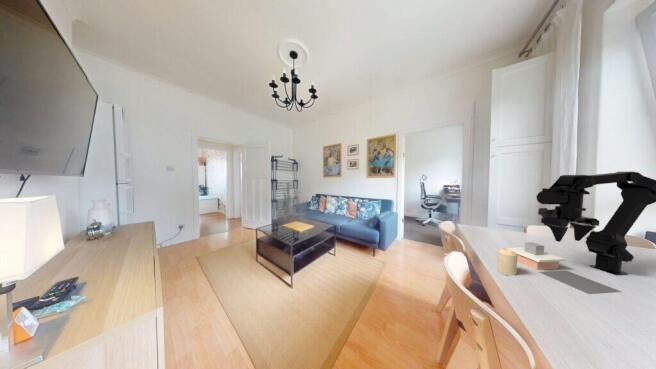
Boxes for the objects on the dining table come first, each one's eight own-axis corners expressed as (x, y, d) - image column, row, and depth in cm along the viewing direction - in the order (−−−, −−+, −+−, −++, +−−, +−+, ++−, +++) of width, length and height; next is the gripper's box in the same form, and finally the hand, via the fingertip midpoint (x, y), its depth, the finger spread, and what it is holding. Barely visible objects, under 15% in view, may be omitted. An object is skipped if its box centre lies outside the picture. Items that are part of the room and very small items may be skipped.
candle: (520, 277, 68) (521, 252, 67) (503, 276, 69) (505, 251, 68) (508, 270, 73) (510, 246, 73) (493, 268, 74) (494, 245, 74)
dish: (529, 258, 83) (529, 249, 83) (558, 270, 73) (559, 259, 73) (510, 259, 82) (510, 250, 82) (536, 271, 72) (537, 260, 72)
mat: (566, 271, 72) (566, 270, 72) (622, 293, 59) (622, 291, 59) (538, 273, 71) (538, 272, 71) (588, 295, 58) (588, 294, 58)
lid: (529, 248, 84) (529, 238, 84) (564, 260, 72) (565, 249, 72) (506, 249, 83) (507, 239, 83) (538, 262, 71) (539, 250, 71)
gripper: (562, 201, 82) (560, 233, 83) (527, 202, 80) (524, 235, 81) (602, 205, 70) (598, 243, 71) (561, 206, 69) (558, 244, 70)
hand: (567, 241), depth 74 cm, fingers open, 9 cm apart
